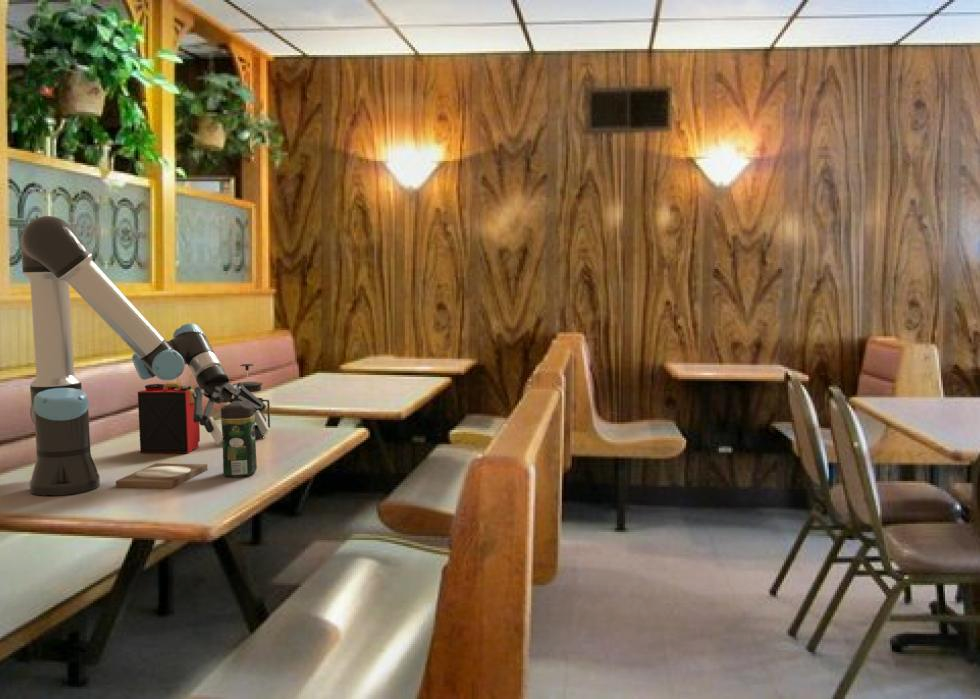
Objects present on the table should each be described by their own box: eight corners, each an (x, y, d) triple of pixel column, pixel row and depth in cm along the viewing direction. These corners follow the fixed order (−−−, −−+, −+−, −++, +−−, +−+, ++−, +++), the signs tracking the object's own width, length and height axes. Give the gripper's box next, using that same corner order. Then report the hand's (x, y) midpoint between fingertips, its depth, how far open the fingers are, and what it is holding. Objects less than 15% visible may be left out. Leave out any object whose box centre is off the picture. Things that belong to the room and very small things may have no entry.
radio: (203, 447, 267) (201, 379, 265) (188, 454, 257) (186, 383, 255) (152, 446, 269) (149, 379, 267) (135, 453, 259) (132, 383, 257)
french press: (227, 440, 277) (225, 365, 275) (235, 435, 286) (233, 362, 284) (266, 440, 277) (264, 365, 275) (273, 434, 286) (271, 362, 284)
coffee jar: (228, 470, 236) (226, 399, 234) (259, 469, 236) (257, 398, 235) (219, 478, 226) (217, 404, 225) (251, 477, 227) (249, 404, 225)
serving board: (171, 488, 216) (171, 481, 216) (115, 487, 218) (115, 480, 218) (207, 469, 236) (207, 463, 236) (156, 468, 238) (156, 462, 238)
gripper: (245, 378, 250) (279, 438, 241) (160, 387, 231) (193, 453, 222) (255, 360, 246) (290, 420, 237) (170, 368, 227) (204, 434, 218)
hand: (243, 437), depth 230 cm, fingers open, 13 cm apart
